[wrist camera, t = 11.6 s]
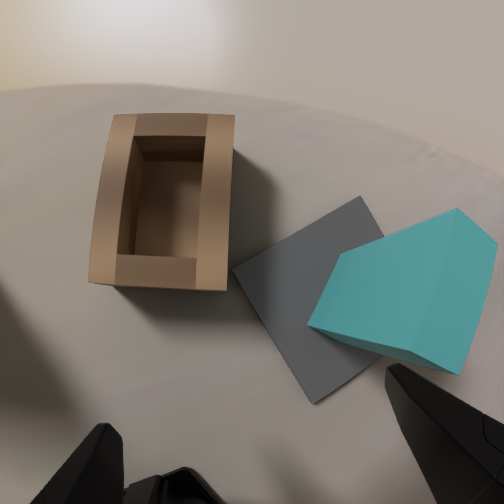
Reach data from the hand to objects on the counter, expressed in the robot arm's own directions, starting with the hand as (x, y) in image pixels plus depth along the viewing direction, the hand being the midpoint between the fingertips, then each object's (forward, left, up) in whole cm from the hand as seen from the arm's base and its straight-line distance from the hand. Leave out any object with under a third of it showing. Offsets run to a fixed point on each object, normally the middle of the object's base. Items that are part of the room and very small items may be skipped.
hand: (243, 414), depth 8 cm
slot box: (+10, -1, -10) cm, 14 cm away
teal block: (0, -8, -10) cm, 12 cm away
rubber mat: (0, -8, -10) cm, 13 cm away
